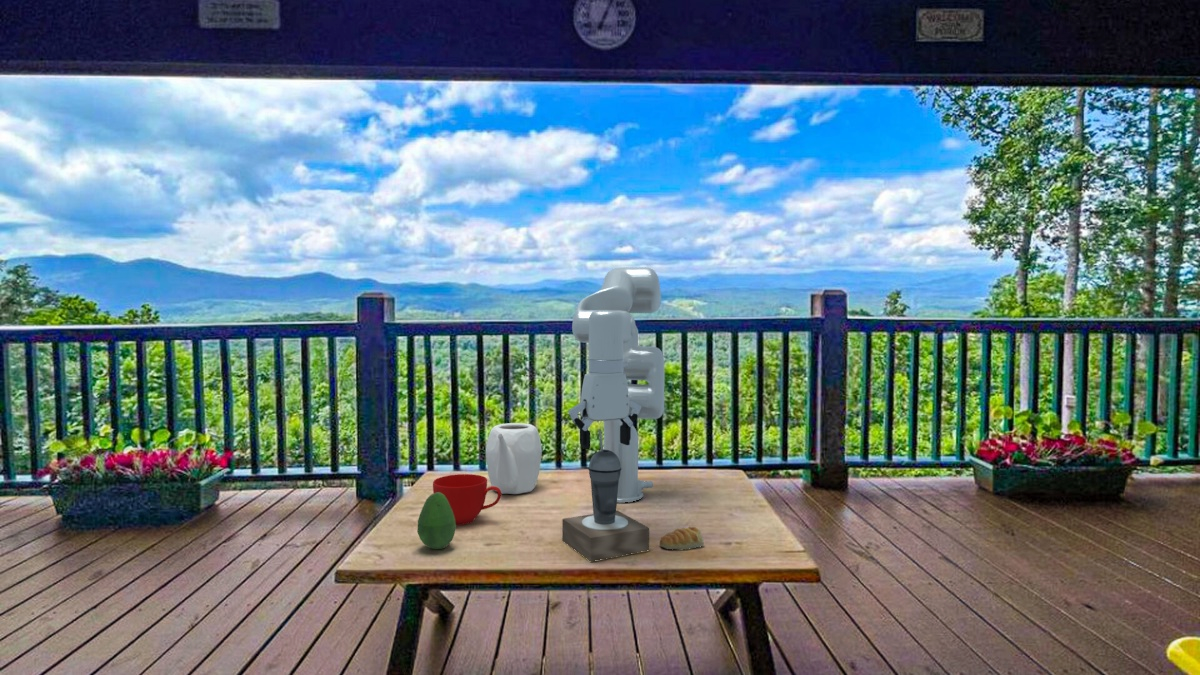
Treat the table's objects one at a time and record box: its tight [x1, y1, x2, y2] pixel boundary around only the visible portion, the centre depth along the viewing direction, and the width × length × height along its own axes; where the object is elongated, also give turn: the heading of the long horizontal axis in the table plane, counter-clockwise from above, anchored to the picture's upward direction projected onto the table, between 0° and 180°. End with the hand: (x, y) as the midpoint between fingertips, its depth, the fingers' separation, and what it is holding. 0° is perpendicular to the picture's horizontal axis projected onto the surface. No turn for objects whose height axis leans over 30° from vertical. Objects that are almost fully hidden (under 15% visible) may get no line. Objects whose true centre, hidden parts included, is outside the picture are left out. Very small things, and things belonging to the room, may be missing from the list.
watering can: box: [485, 422, 543, 495], centre depth 181 cm, size 16×27×19 cm, turn 172°
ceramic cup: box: [432, 473, 502, 526], centre depth 153 cm, size 13×17×10 cm
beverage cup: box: [588, 429, 621, 524], centre depth 137 cm, size 7×7×20 cm
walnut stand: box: [561, 509, 650, 562], centre depth 137 cm, size 14×14×5 cm
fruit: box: [416, 492, 457, 550], centre depth 135 cm, size 8×8×12 cm
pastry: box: [659, 526, 705, 551], centre depth 138 cm, size 9×7×4 cm
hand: (605, 446), depth 137 cm, fingers open, 9 cm apart
